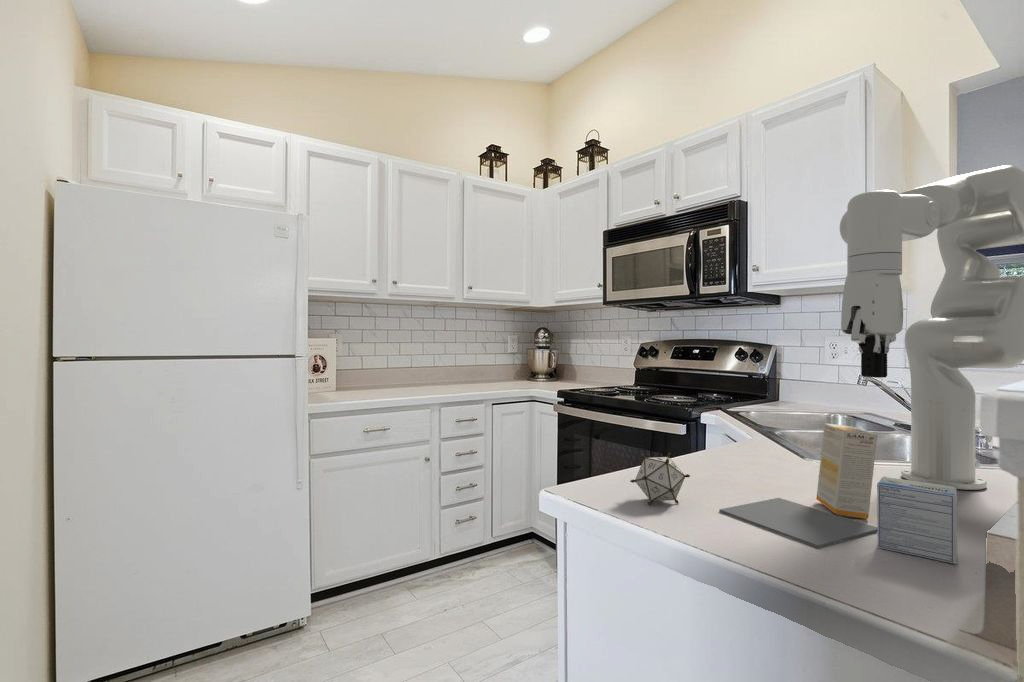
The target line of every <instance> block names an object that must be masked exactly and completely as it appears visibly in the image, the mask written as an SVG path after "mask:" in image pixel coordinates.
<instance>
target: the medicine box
mask: <svg viewBox="0 0 1024 682" xmlns="http://www.w3.org/2000/svg"><path fill="white" fill-rule="evenodd" d="M876 490H877V491H876V493H877V496H876V497H877V498H876V499H877V500H876V501H877V502H876V503H877V505H876V506H877V513H876V516H877V523H876V524H877V527H878V532H877V544H876V546H877V549H882V550H887V551H891V552H892V551H893V552H896V553H902V554H906V555H911V556H916V557H918V558H919V557H921V558H925V559H929V560H930V559H931V560H932V561H933V560H934V561H938V562H944V563H947V562H950V563H949V564H952V563H955V564H954V565H957V561H958V494H957V493H958V491H957V490H958V489H956V488H955V487H953V486H945V485H939V484H932V483H925V482H918V481H911V480H907V479H905V478H903V479H902V478H896V477H895V478H894V477H887V476H883V477H880V480H879V481H878V482H877V484H876Z"/></svg>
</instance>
